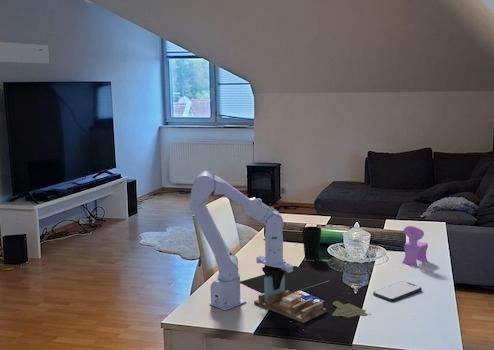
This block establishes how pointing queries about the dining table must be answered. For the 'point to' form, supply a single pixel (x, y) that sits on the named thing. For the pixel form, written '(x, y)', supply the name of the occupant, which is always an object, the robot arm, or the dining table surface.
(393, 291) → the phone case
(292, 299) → the offcut top
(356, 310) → the olive flat irregular piece
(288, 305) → the offcut low
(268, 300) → the rack
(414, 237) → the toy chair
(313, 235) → the cup
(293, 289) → the tablet
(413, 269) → the dining table surface
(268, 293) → the board
